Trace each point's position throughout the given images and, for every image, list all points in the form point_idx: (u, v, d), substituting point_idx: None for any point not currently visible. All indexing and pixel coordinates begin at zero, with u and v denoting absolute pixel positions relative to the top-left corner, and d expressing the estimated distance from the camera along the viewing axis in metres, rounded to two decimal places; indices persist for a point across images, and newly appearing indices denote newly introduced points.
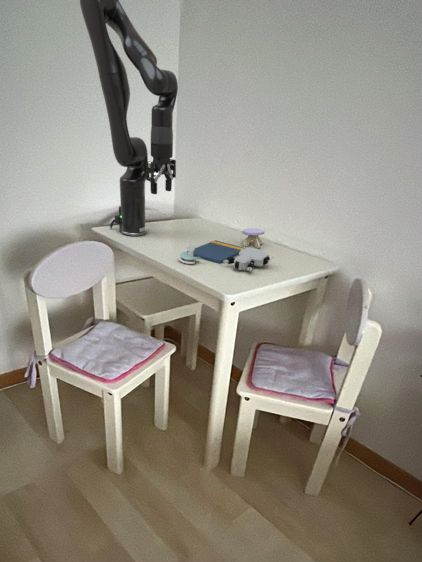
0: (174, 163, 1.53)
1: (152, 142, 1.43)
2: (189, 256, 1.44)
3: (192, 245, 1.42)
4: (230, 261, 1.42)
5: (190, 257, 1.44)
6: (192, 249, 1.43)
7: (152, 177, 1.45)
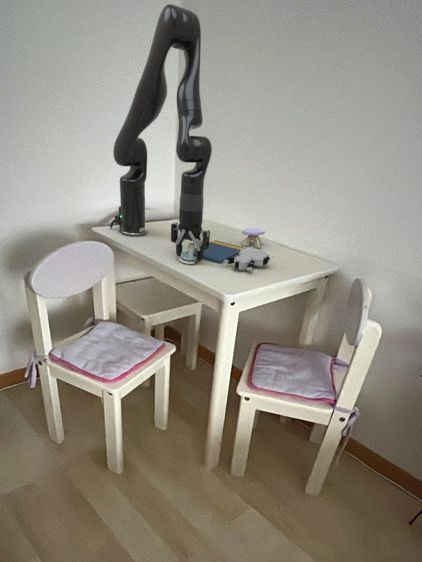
0: (204, 235, 1.36)
1: None
2: (189, 256, 1.44)
3: (192, 245, 1.42)
4: (230, 261, 1.42)
5: (190, 257, 1.44)
6: (192, 249, 1.43)
7: (172, 238, 1.43)
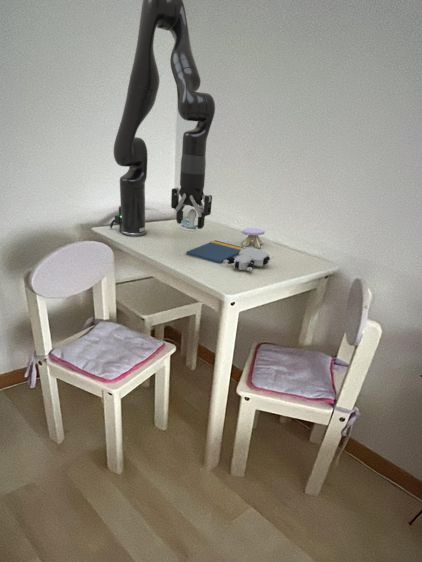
0: (205, 199, 1.30)
1: None
2: (190, 223, 1.39)
3: (193, 212, 1.37)
4: (230, 261, 1.42)
5: (191, 224, 1.39)
6: (193, 216, 1.37)
7: (172, 204, 1.37)
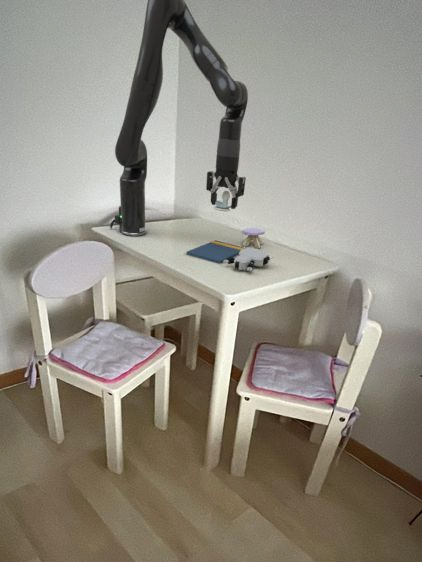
0: (240, 181, 1.41)
1: None
2: (223, 204, 1.49)
3: (227, 193, 1.47)
4: (230, 261, 1.42)
5: (224, 205, 1.49)
6: (227, 197, 1.47)
7: (207, 186, 1.48)
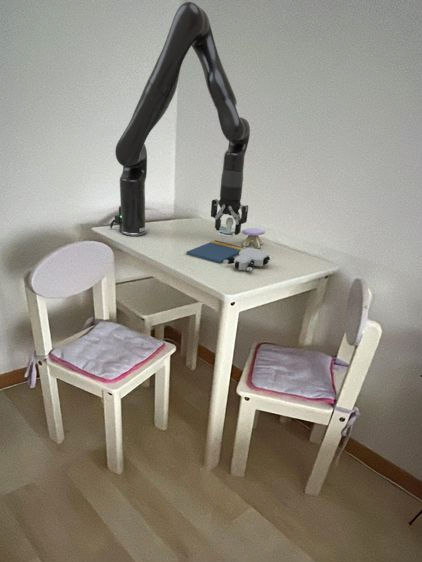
0: (243, 209, 1.49)
1: None
2: (227, 230, 1.57)
3: (230, 220, 1.55)
4: (230, 261, 1.42)
5: (228, 231, 1.57)
6: (230, 223, 1.55)
7: (212, 213, 1.56)
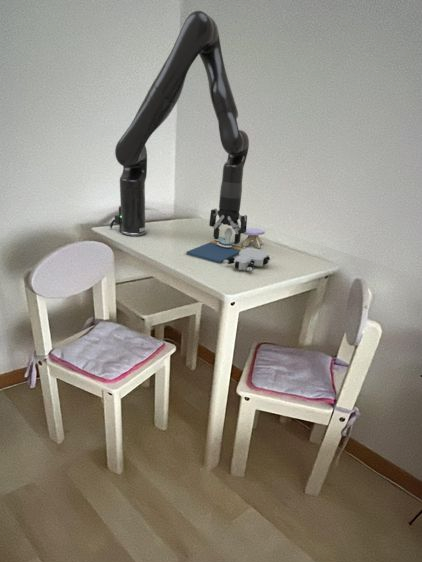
0: (242, 219, 1.50)
1: None
2: (226, 241, 1.59)
3: (229, 230, 1.57)
4: (230, 261, 1.42)
5: (227, 241, 1.59)
6: (229, 234, 1.57)
7: (210, 222, 1.57)
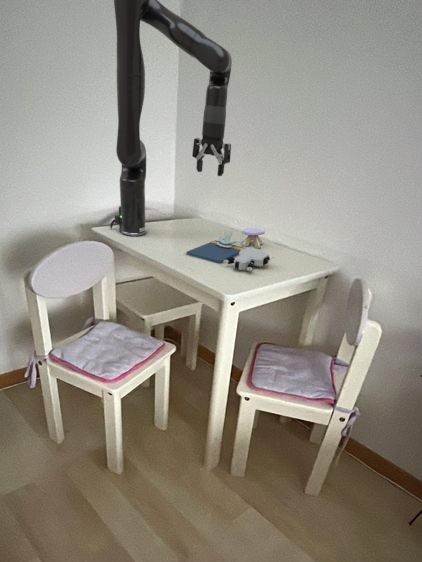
0: (225, 147, 1.44)
1: None
2: (226, 241, 1.59)
3: (229, 230, 1.57)
4: (230, 261, 1.42)
5: (227, 241, 1.59)
6: (229, 234, 1.57)
7: (193, 153, 1.51)
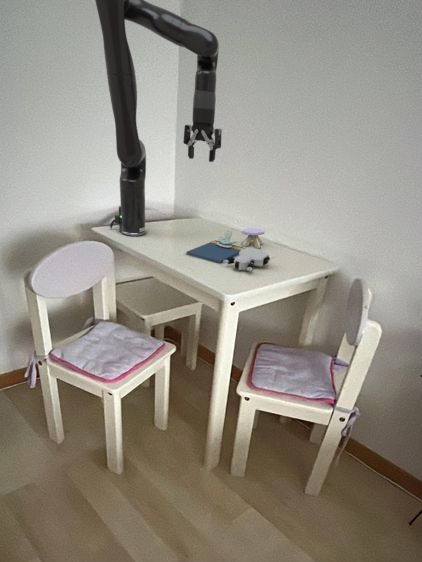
0: (216, 132, 1.45)
1: None
2: (226, 241, 1.59)
3: (229, 230, 1.57)
4: (230, 261, 1.42)
5: (227, 241, 1.59)
6: (229, 234, 1.57)
7: (184, 139, 1.52)
